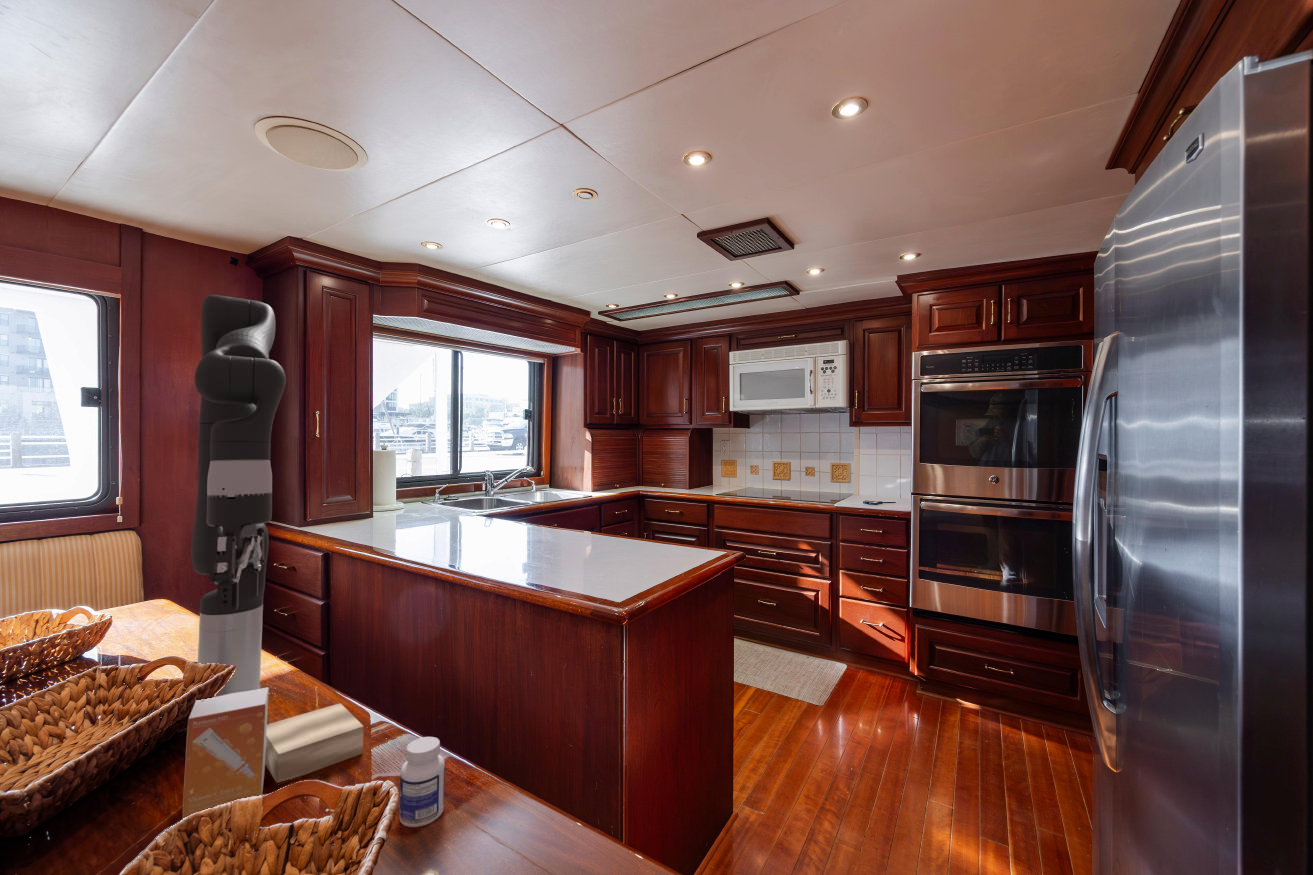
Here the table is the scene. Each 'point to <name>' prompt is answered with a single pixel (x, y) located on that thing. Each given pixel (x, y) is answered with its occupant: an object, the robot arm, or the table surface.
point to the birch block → (312, 742)
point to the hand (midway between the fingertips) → (238, 603)
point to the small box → (225, 749)
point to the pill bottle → (422, 783)
